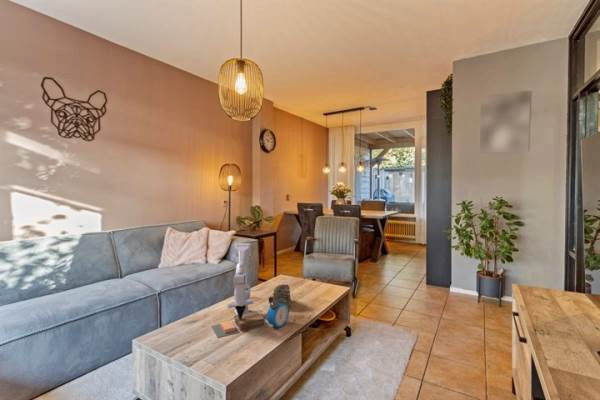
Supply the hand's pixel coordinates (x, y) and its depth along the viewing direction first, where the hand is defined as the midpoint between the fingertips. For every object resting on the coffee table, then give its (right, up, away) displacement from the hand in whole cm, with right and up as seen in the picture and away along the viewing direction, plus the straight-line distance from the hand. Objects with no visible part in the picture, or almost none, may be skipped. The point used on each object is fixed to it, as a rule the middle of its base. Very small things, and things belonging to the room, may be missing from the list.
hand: (240, 318), depth 167 cm
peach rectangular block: (-6, -3, -3) cm, 7 cm away
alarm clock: (+22, -5, +2) cm, 22 cm away
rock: (+21, -4, +31) cm, 38 cm away
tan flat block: (+5, -5, +3) cm, 7 cm away
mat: (-7, -5, -4) cm, 10 cm away
